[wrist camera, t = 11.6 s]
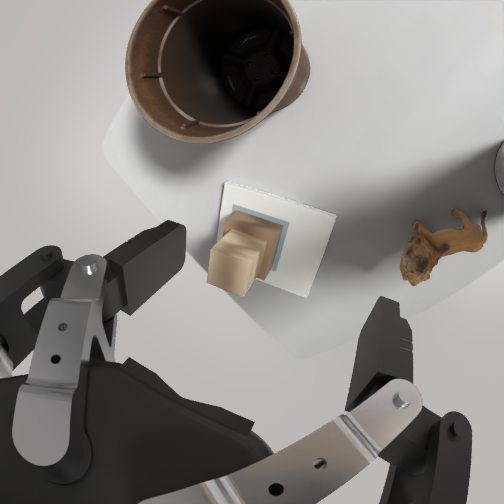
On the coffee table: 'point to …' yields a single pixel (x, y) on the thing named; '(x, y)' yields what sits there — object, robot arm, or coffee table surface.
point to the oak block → (236, 262)
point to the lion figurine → (439, 246)
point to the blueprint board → (284, 234)
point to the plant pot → (214, 65)
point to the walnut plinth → (257, 235)
